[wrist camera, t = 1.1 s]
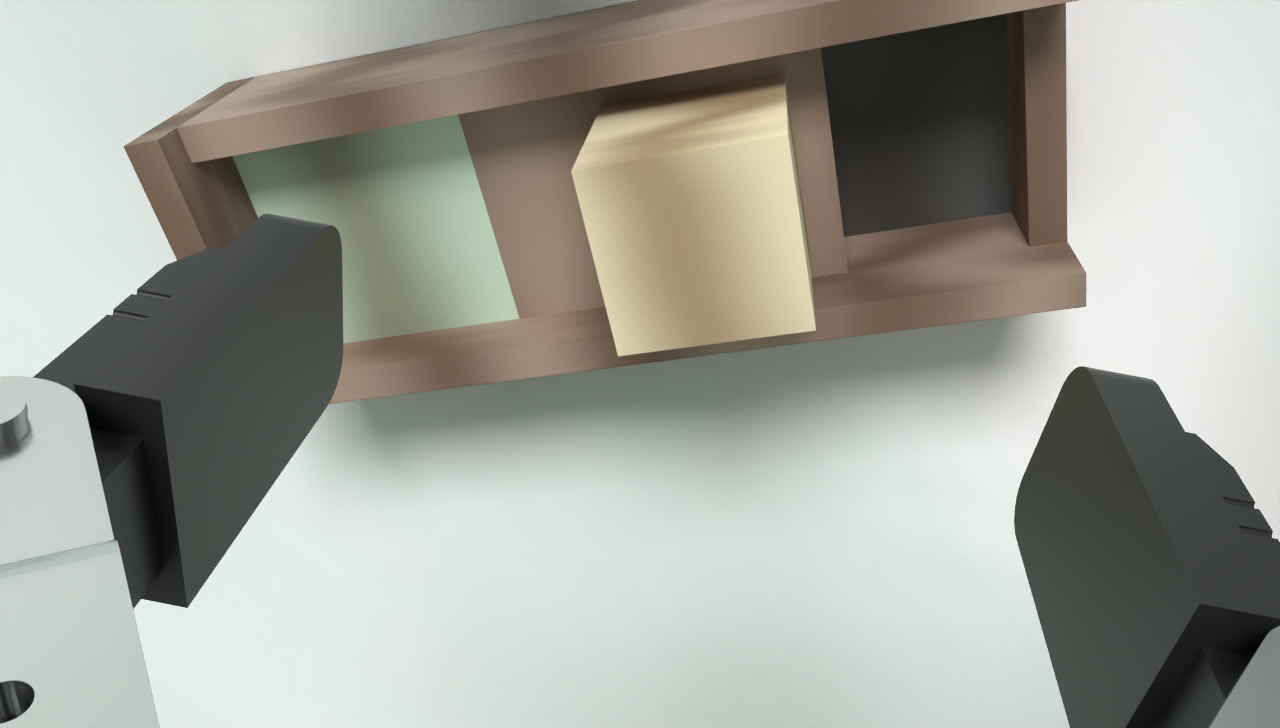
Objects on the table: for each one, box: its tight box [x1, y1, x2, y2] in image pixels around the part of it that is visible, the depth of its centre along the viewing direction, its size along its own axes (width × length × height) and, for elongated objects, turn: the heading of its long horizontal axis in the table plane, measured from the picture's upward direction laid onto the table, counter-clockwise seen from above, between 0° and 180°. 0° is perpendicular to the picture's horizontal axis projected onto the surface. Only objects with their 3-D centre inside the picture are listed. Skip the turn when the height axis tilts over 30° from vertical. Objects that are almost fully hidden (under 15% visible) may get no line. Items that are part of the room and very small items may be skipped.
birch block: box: [571, 74, 816, 356], centre depth 27 cm, size 5×5×5 cm
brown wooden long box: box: [124, 0, 1086, 404], centre depth 29 cm, size 24×9×6 cm, turn 102°
